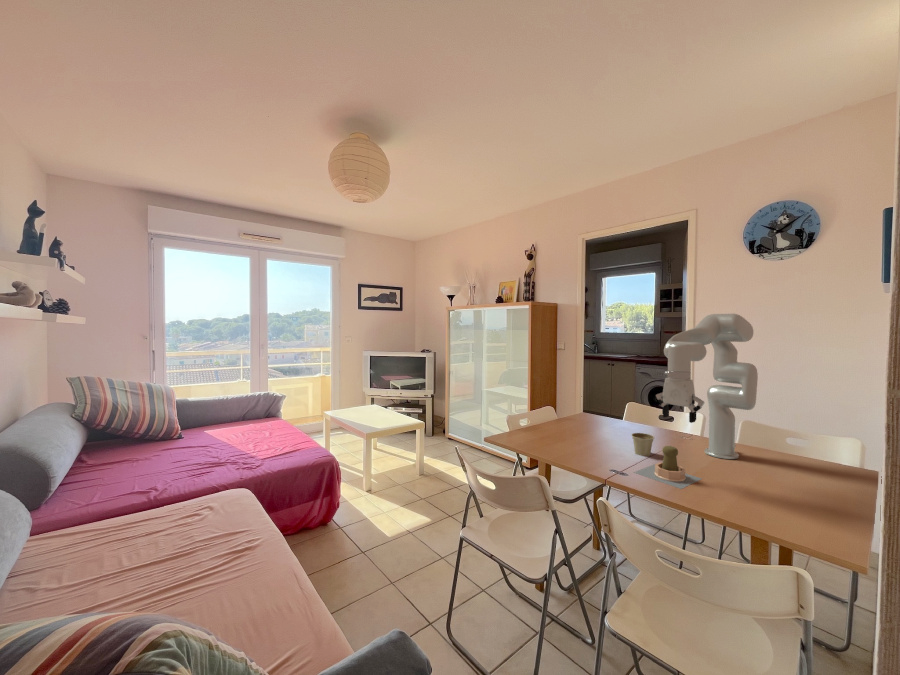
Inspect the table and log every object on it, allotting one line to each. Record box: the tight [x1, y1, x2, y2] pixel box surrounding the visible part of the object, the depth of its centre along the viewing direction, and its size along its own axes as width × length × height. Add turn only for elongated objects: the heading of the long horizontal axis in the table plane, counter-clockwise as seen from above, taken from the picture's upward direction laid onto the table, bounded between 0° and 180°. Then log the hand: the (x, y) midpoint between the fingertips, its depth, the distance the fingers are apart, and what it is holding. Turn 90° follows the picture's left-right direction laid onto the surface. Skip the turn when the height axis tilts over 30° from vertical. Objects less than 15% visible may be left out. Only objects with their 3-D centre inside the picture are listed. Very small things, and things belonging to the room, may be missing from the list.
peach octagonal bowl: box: [655, 462, 686, 482], centre depth 145 cm, size 10×10×4 cm
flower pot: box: [630, 432, 655, 457], centre depth 171 cm, size 9×9×9 cm
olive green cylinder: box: [662, 445, 679, 471], centre depth 145 cm, size 6×6×11 cm
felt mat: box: [633, 463, 703, 490], centre depth 146 cm, size 16×18×1 cm
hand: (678, 419), depth 144 cm, fingers open, 9 cm apart
